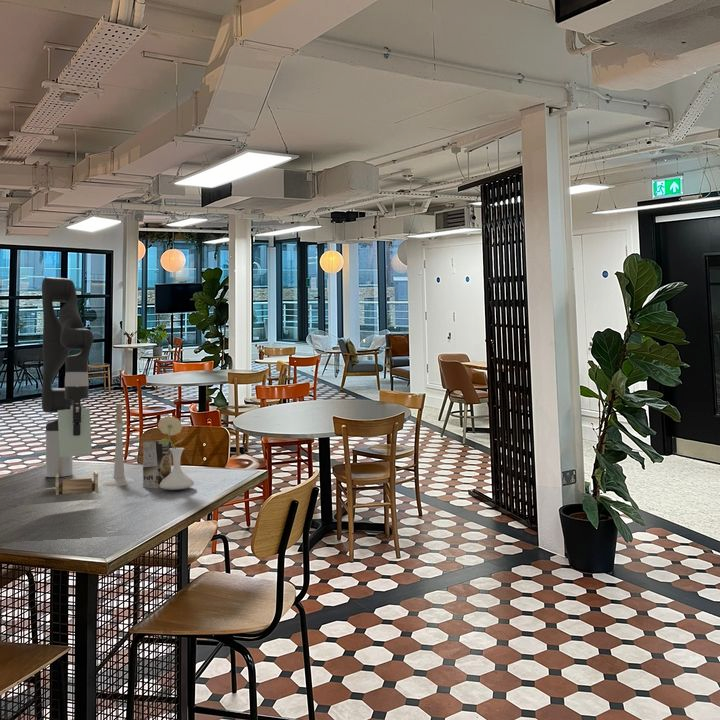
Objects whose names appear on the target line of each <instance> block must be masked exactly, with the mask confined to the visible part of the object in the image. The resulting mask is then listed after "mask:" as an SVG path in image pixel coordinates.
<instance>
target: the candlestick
mask: <svg viewBox="0 0 720 720" xmlns="http://www.w3.org/2000/svg"><path fill="white" fill-rule="evenodd" d="M115 409H116V410H115V411H116V412H115V416H116V417H115V418H116V419H115V420H116V421H113V423H114V425H115V428H116V432H115V433H116V434H115V447H114V448H115V449H114V450H115V451H114V453H115V454H114V469H113V470H114V471H113V476H112V477H113V478H110V479H107V480H104V481H103V482H101V485H102V486H104V487H120V486H126V485H130V484H133V483H135V482H136V480H135V479H133V478H130V477H126V476H125V463H124V461H125V459H124V445H123V431H122V428H123V427H124V423H125V421H123V404H122V403H116V404H115Z"/></svg>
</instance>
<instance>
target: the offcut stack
mask: <svg viewBox="0 0 720 720" xmlns="http://www.w3.org/2000/svg"><path fill="white" fill-rule="evenodd" d="M61 481H62V492H61V494H63V495H65V494H66V495H67V494H77V493H91V492H92V491H93V490H92V481H93V478H92V477H80V478H67V479H66V478H64V479H63V478H62V480H61Z"/></svg>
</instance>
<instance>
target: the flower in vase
mask: <svg viewBox="0 0 720 720" xmlns="http://www.w3.org/2000/svg"><path fill="white" fill-rule="evenodd" d="M157 427H158V430H160V432H161V433H162V434H164V435H168V439H167V438H165V437H163V438H162V439H159V440H160V441H159V443H158V444H163V445H167V444H168V443H169V442H171V446H172V447H171V448H170V449H169V450H170V451H171V456H172V462H173V466H172V467H173V468H172V469H171V473H170V474H169V475H168V476H167V477H166V478H165V479H163V480H162V482H161V483H160V485H159V486H160V488H162V489H163V490H168V491H169V490H170V491H175V490H185V489H189V488H191V487H193V486H194V485H195V481H194V480H193V479H192V478H191V477H190V476H188V475H187V474H186V473H184V472H183V470H182V468H181V458H182V457H181V456H182V454H183V451H184V450H185V447H175V445H176V444H179V443H181V442H182V441H184V439H185V437H183V438H181V439H180V440H177V441H176V442H175V443H173V441H172V439H171V437H170V436H174V435H178V434H180V433H181V431H182V428H183V424H182V423H181V420H180V419H179V418H176V417H175V416H174V415H173V416H171V415H166V416H165V415H164V417H161V418H160V419H159V421H158V424H157Z"/></svg>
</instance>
